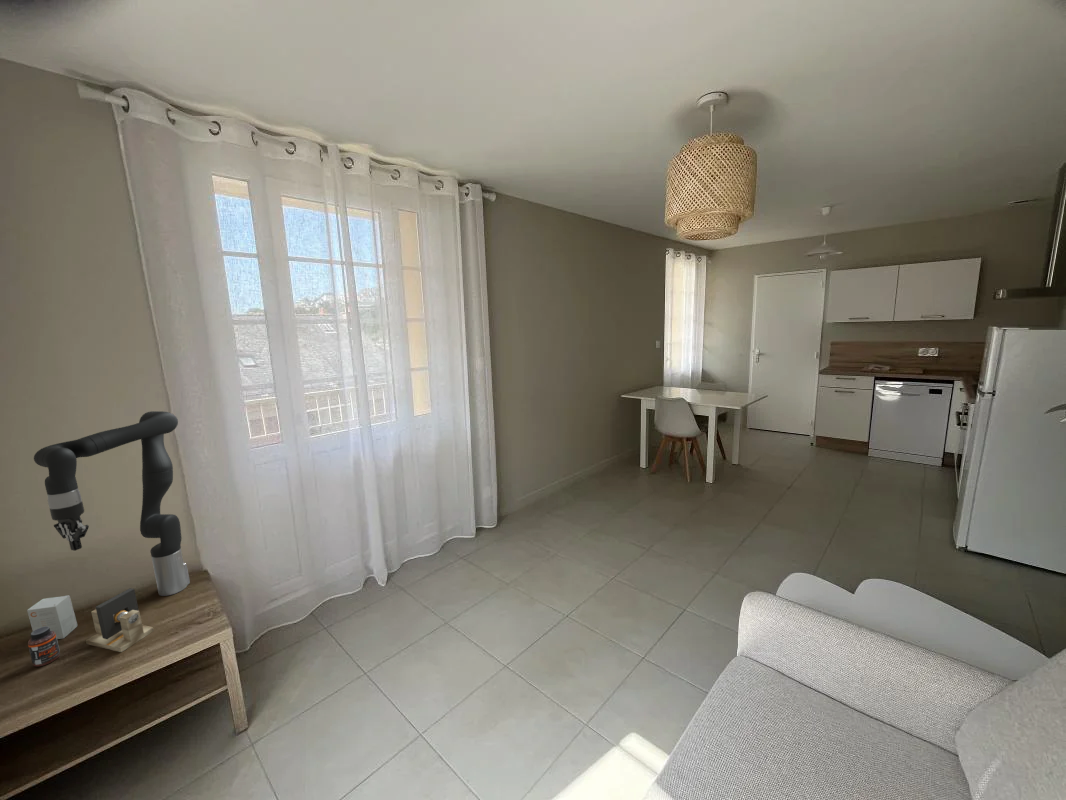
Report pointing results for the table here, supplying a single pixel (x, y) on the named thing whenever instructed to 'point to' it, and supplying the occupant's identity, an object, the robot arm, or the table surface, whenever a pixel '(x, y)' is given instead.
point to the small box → (53, 615)
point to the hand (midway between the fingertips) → (76, 549)
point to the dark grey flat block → (115, 611)
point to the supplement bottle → (43, 646)
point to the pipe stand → (126, 636)
